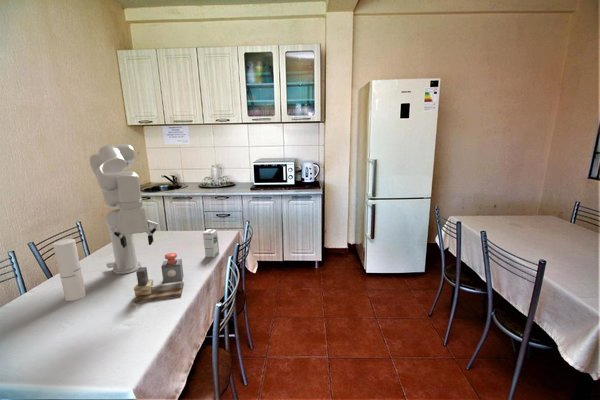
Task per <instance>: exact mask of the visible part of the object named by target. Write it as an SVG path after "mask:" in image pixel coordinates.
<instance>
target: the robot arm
mask: <svg viewBox="0 0 600 400" xmlns="http://www.w3.org/2000/svg"><path fill="white" fill-rule="evenodd" d="M136 157H137V156H136V151H135V149H134V148H133V146H132V145H130V144H127V143H126V144H124V143H121V144H105V145H103V146H101V147H100V148H99V150H98V153H94V154H91V156H90V157H89V164H90V167H91V168H90V169H91V170H92V172H93V174H94V175H95V176H96V180H97V182H98V185H99V187H100V189H101V191H102V195H103V199H104V203H105V205H106V207H108V208H111V209H112V210H110V211H108V212H107V213H106V214H105V224H106V225H107V228H108V230H109V234H110V235H109V236H110V241H111V246H112V251H113V256H114V261H112V262H106V267H107V269H111V268H112V272H113V273H114V274H116V275H124V274H129V273H130V274H131V273H133V272H136V271H137V270H138V268H141V267H142V264H141V262H139V261H138V257H137V251H136V246H135V245H136V244H135V239H134V234H142V233H146V234H147V241H148V245H149V246H151V245H152V244H153V242H154V235H153V234H154V233H155V232H156V231H157V229H158V226H159V225H160V224H159V223H158V222H155V221H152V220H149V216H148V213H147V210H146V208H145V205H144V201H143V197H142V191H141V184H140V183H141V179H140V176H139V175H138V174H137V173H136V172H135V171H130V170H129V171H126V169H131V167H132V166H133V164H134V162H135V160H136ZM114 208H117V209H114ZM150 226H152V227H153V228H152V229H151V228H150Z"/></svg>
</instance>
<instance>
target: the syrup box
mask: <svg viewBox="0 0 600 400" xmlns="http://www.w3.org/2000/svg"><path fill="white" fill-rule="evenodd" d="M202 238H203V245H204V254H205V255H204V256H205V257H206V258H207V257H208V258H215V257H216V256H218V255H219V254H220V248H219V247H220V246H219V237H218V230H217V229H214V228H213V229H211V228H210V229H209V228H208V229H206V230H204V231H203V232H202Z"/></svg>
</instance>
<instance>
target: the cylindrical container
mask: <svg viewBox="0 0 600 400" xmlns="http://www.w3.org/2000/svg"><path fill="white" fill-rule="evenodd" d="M52 246H53V249H54V255H55V259H56V264H57V269H58V274H59V276H60V281H61V286H62V290H63V295H64V299H65V301H66V302H73V301H77V300H81V299H82V298H84V297H85V296H86V295H87V292H86V286H85V281H84V278H83V277H84V276H83V273H82V267H81V262H80V257H79V252H78V247H77V243H76V239H75V238H67V239H61V240H58V241H55V242H54V243H52Z"/></svg>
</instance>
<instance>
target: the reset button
mask: <svg viewBox="0 0 600 400" xmlns="http://www.w3.org/2000/svg"><path fill="white" fill-rule="evenodd" d="M177 257H178V254H177V253H176V252H170V253H167V254H165V255H164V259H165V260H167V261H168V265H171V264H176V263H175V260H176V258H177Z"/></svg>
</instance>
